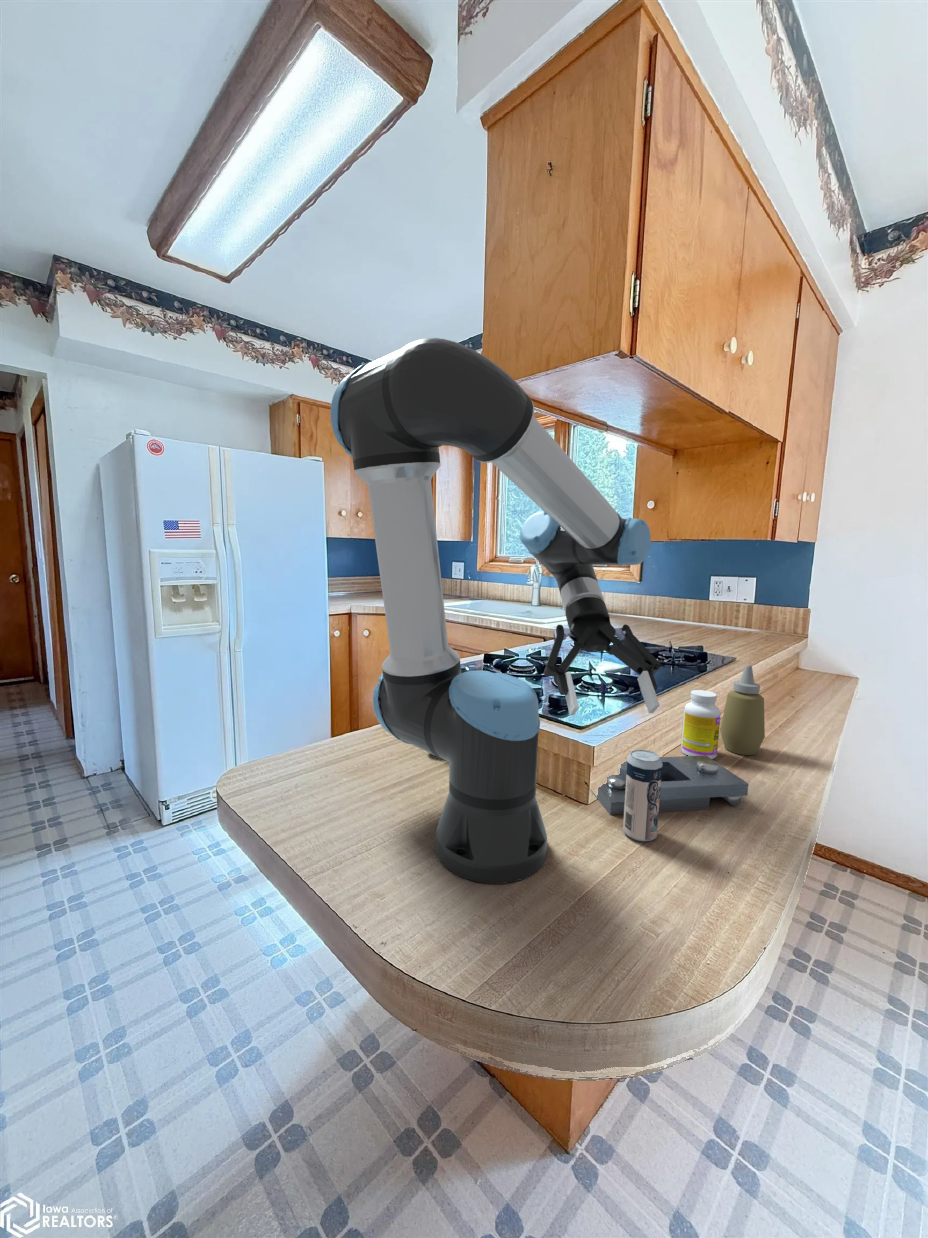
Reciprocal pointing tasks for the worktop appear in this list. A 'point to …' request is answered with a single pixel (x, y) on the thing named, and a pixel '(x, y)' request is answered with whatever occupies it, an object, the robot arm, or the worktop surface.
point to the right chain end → (698, 779)
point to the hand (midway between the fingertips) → (614, 710)
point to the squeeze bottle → (744, 716)
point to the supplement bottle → (701, 725)
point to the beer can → (642, 795)
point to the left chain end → (615, 800)
